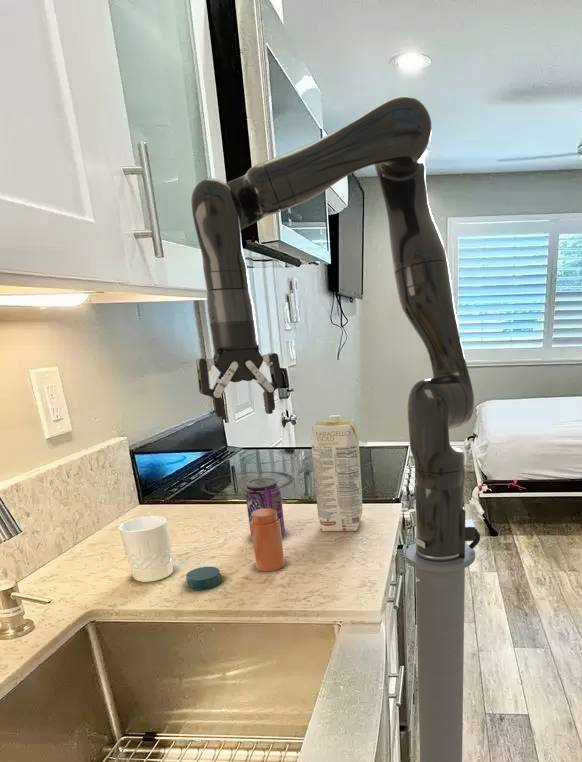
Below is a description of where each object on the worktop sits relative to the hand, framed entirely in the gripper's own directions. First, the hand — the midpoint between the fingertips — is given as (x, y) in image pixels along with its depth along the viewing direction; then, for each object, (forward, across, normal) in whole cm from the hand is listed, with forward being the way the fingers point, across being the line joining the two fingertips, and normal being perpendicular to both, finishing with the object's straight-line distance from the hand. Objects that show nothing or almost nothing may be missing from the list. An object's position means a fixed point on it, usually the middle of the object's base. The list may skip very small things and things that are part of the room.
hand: (246, 416), depth 102 cm
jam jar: (+27, +1, +6) cm, 28 cm away
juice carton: (+27, -19, -5) cm, 33 cm away
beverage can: (+27, -4, -9) cm, 29 cm away
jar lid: (+25, +13, +6) cm, 29 cm away
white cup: (+27, +20, -3) cm, 34 cm away
